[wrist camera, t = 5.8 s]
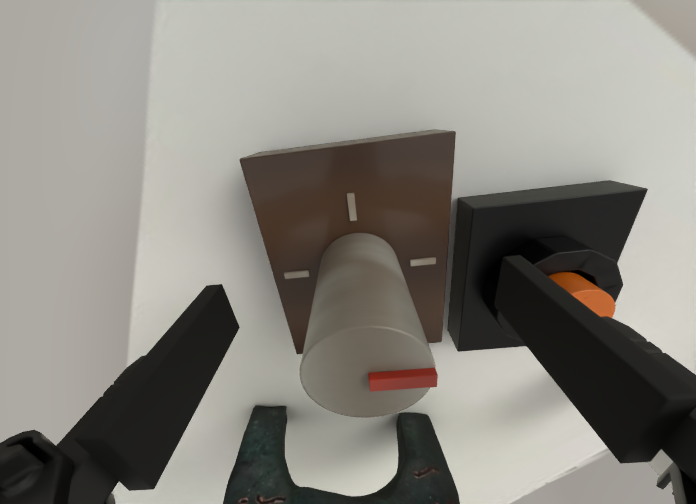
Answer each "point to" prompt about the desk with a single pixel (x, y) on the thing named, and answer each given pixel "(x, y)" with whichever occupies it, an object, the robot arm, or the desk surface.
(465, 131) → the desk surface
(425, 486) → the ceramic cat
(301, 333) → the panel
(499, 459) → the desk surface
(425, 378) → the knob
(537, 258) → the button box
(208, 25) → the desk surface
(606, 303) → the button
